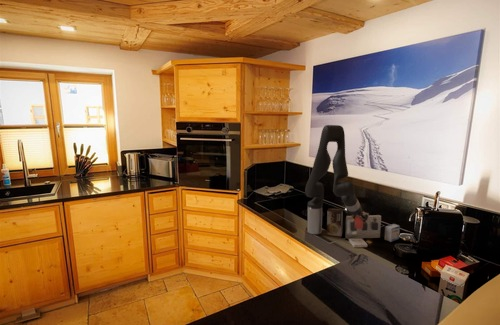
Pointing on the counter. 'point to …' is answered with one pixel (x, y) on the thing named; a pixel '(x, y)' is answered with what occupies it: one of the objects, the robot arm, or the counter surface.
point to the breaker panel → (369, 228)
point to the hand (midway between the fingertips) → (360, 219)
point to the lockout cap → (358, 222)
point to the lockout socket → (358, 242)
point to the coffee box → (334, 222)
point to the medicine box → (392, 232)
